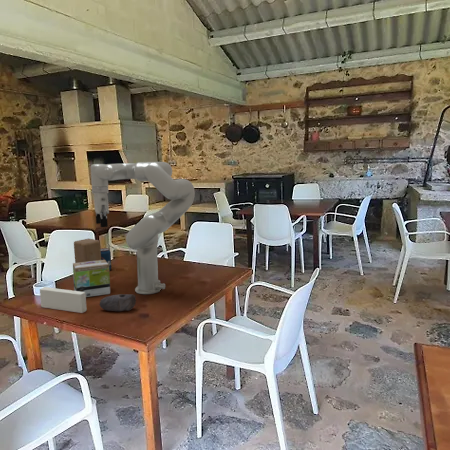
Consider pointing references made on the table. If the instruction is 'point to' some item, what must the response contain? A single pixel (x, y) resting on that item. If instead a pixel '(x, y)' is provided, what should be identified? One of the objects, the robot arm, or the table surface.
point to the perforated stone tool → (118, 302)
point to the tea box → (92, 277)
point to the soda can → (106, 256)
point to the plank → (63, 299)
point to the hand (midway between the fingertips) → (101, 225)
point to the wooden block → (87, 250)
